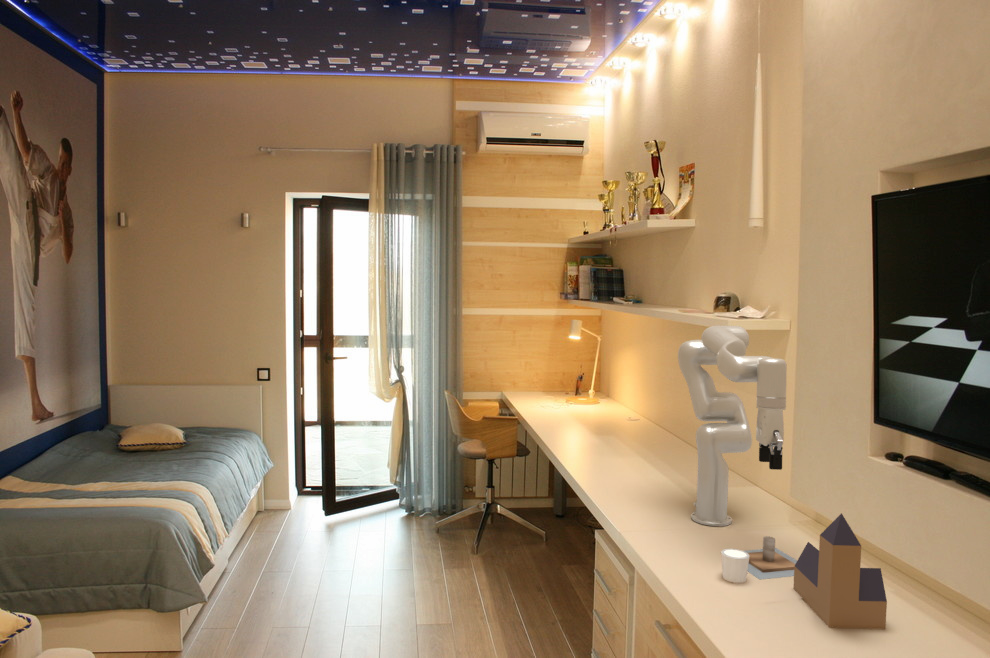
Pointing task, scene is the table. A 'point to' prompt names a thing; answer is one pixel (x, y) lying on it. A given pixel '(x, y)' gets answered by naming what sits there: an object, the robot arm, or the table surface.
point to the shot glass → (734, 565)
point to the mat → (770, 575)
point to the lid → (769, 558)
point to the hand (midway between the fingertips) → (770, 465)
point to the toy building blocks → (840, 581)
